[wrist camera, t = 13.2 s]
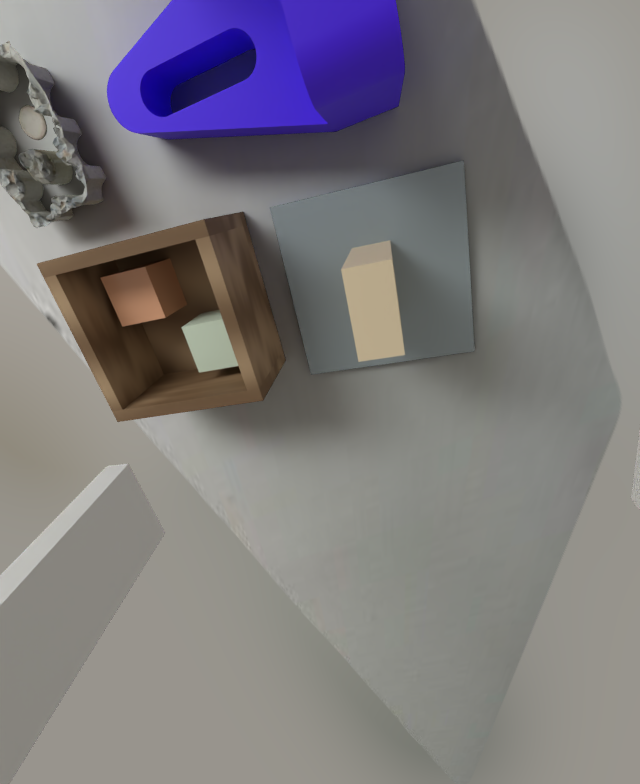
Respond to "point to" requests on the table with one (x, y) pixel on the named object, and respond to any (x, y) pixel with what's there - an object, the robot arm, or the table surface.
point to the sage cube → (209, 342)
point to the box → (172, 320)
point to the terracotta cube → (145, 292)
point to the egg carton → (40, 162)
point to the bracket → (263, 67)
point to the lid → (380, 270)
